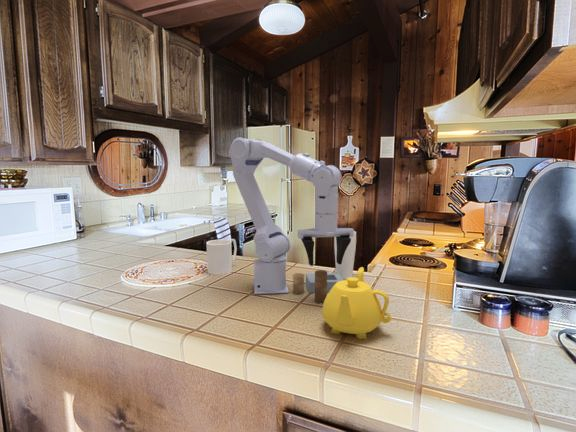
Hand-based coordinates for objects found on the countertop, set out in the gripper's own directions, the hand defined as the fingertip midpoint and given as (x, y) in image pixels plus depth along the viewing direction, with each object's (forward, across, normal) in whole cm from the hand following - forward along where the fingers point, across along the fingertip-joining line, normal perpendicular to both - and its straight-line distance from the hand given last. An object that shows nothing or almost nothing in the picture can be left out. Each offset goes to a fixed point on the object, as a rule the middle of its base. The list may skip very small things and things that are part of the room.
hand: (325, 264), depth 90 cm
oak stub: (+10, -6, +7) cm, 13 cm away
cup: (+10, -27, +32) cm, 42 cm away
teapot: (+10, +2, -17) cm, 20 cm away
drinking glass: (+10, +11, +16) cm, 22 cm away
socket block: (+10, +3, +9) cm, 14 cm away
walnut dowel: (+10, -1, -1) cm, 10 cm away
